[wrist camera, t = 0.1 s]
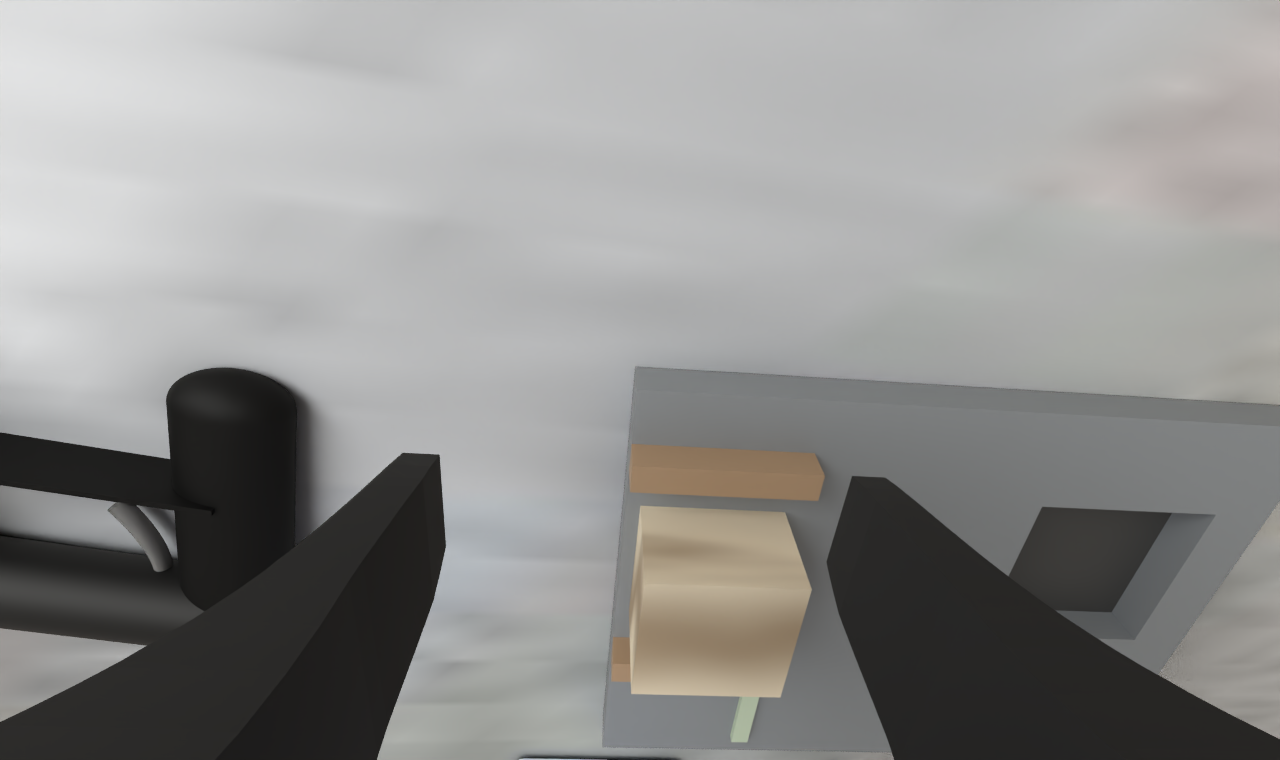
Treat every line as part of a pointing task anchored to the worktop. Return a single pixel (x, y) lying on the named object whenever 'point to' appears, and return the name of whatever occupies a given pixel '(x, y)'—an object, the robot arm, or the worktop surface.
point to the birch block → (714, 602)
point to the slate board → (941, 518)
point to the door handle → (187, 483)
